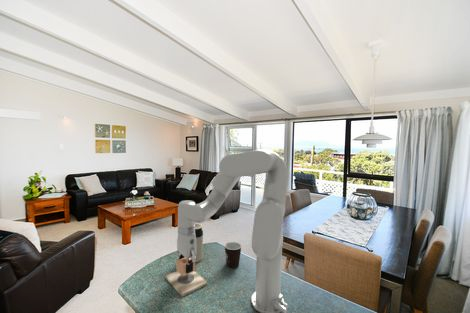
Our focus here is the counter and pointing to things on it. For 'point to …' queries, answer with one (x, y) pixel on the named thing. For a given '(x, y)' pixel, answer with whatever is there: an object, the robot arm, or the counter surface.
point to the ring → (183, 266)
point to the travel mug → (199, 242)
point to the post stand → (186, 282)
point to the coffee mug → (232, 254)
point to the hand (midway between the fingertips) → (185, 268)
